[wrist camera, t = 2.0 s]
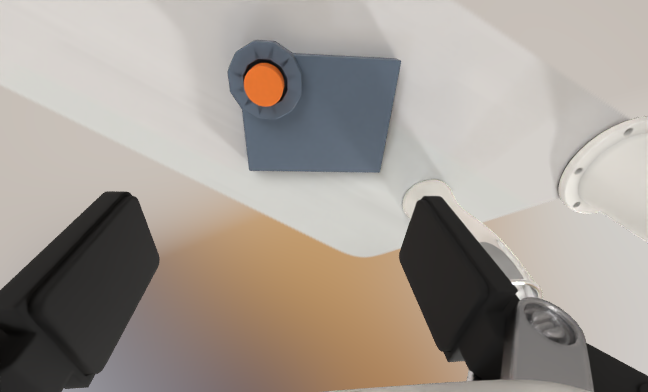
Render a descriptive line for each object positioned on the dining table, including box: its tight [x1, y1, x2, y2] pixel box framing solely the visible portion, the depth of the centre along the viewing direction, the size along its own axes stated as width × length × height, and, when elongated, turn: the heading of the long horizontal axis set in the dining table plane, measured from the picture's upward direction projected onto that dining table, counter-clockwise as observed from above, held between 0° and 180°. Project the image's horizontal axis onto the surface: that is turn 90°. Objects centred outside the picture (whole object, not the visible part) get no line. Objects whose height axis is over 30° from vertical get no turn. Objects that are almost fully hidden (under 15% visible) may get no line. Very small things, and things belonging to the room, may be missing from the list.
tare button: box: [244, 63, 284, 107], centre depth 21 cm, size 3×3×2 cm
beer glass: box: [402, 179, 543, 300], centre depth 27 cm, size 7×7×15 cm
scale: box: [228, 40, 401, 173], centre depth 25 cm, size 14×12×3 cm
